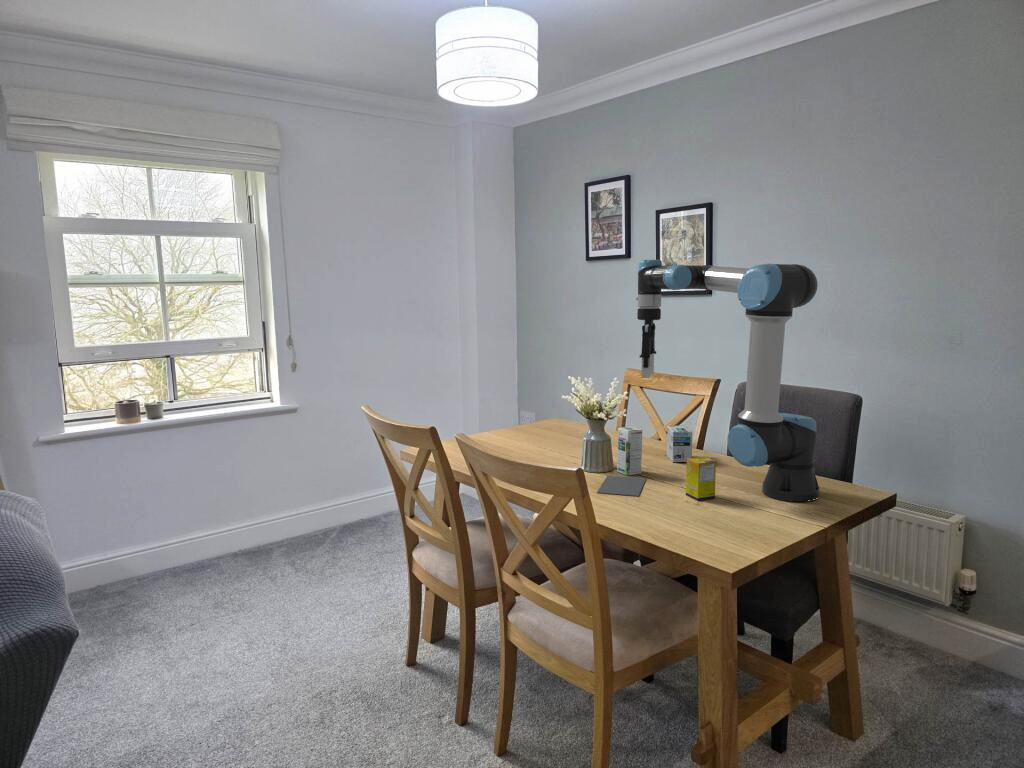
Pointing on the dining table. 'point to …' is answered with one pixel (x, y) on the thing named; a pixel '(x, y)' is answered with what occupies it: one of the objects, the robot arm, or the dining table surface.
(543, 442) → the dining table surface
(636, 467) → the syrup box
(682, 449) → the light bulb box
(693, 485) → the supplement box
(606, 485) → the mat
